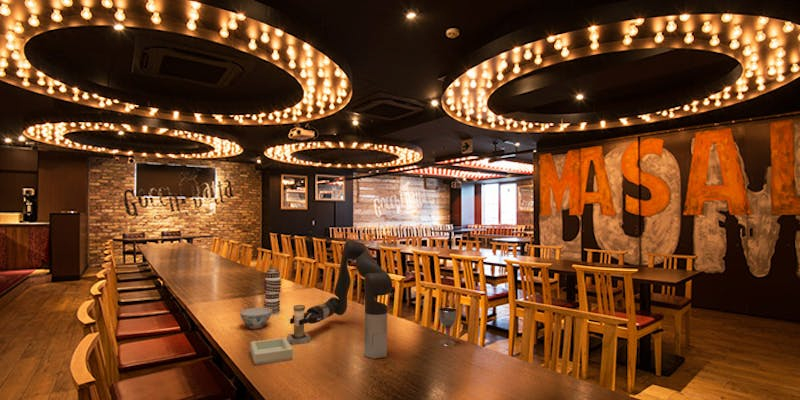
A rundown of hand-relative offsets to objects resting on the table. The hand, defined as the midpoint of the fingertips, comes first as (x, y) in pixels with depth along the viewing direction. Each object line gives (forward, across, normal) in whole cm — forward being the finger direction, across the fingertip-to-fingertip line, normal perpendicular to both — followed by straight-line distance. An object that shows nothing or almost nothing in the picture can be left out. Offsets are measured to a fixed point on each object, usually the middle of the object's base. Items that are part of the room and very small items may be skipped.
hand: (295, 322), depth 176 cm
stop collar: (-3, 0, +9) cm, 9 cm away
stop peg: (-3, 0, +8) cm, 9 cm away
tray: (+17, +2, +9) cm, 19 cm away
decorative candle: (-34, -43, +9) cm, 56 cm away
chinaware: (-11, -33, +9) cm, 36 cm away
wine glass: (-29, +61, +10) cm, 69 cm away
